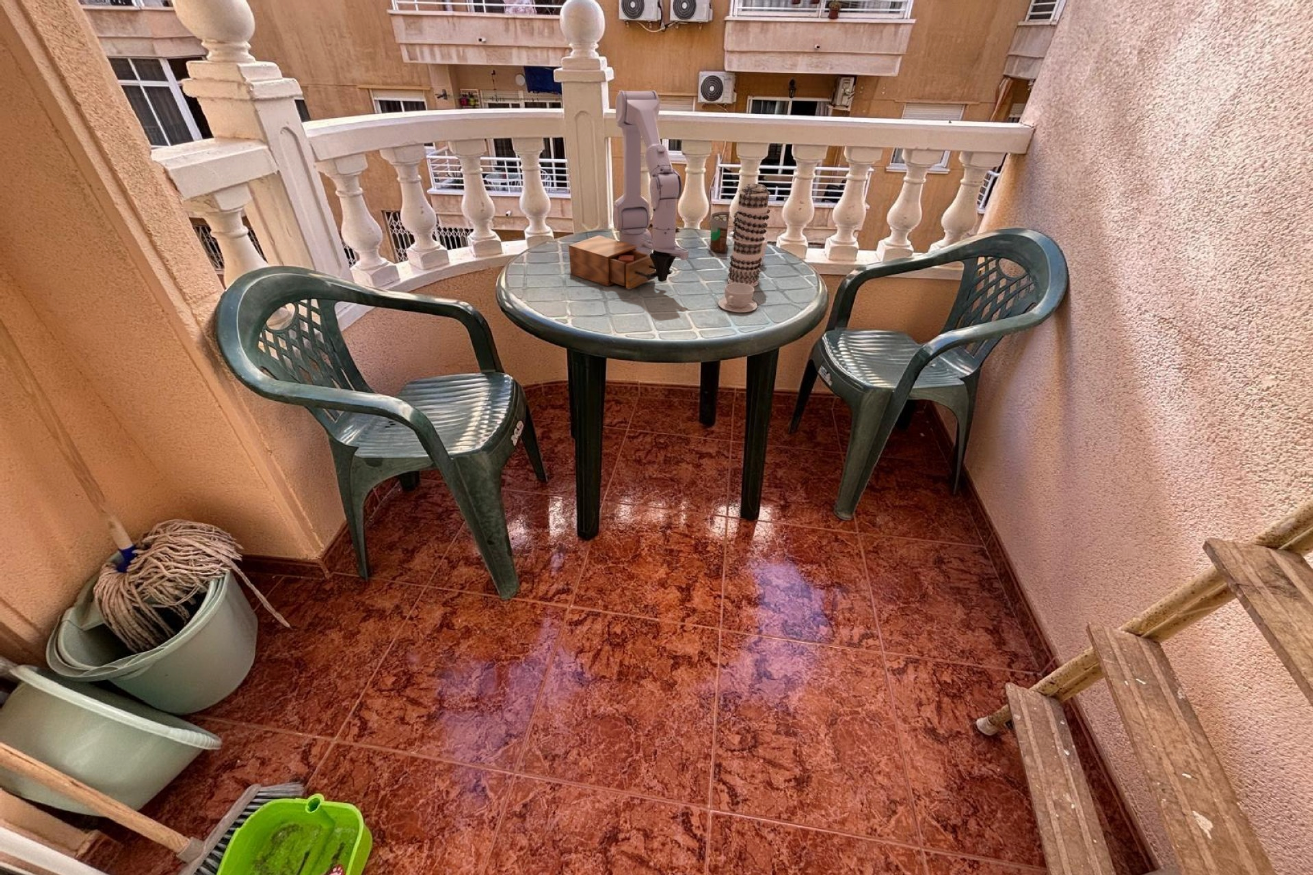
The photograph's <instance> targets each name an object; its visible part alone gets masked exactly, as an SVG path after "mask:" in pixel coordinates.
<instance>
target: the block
mask: <svg viewBox="0 0 1313 875" xmlns="http://www.w3.org/2000/svg"><path fill="white" fill-rule="evenodd" d="M618 261H622V262H625V263H626V264H629V263H631V262H634V255H619V258H618Z"/></svg>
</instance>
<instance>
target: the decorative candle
mask: <svg viewBox="0 0 1313 875" xmlns="http://www.w3.org/2000/svg"><path fill="white" fill-rule="evenodd" d="M738 193H739V195H738V202H737V205H736V206H737V207H736V210H737V211H736V212H734V215H733V218H734V219H733V222H732V224H733V229H732V232H733V233H732V236H731V237H732V240H733V241H734V242H733V248H732V249H731V255H730V257H729V258H730V261H729V264H730V266H729V268H728V272H729V273H728V275H727V277H728V279H727V282H728V284H730V283H744V284H748V285H751V286H752V287H753V288H755V287H756V286H758V284H759V278H760V276H759V275H760V273H761V270H760V268H761V266H762V265H761V264H760V262H761V260H762V258H761V252H762V251H761V248H762V243H763V242H764V239H766V238H765V237H764V234H766V233H767V229H766V228H768V223H766V221H767V220H769V219H770V215H769V214H770V212H771V209H769V198H770V195H771V192H770V191H768V187H767V186H766V185H764V184H761V183H760V184H759V183H747V184H744V185H743V186H742V188H741V189H739V190H738Z"/></svg>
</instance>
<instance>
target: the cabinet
mask: <svg viewBox="0 0 1313 875" xmlns="http://www.w3.org/2000/svg"><path fill="white" fill-rule="evenodd" d="M636 248H637V246H635V245H631V244H628V243H624V242H621V241H620V240H616V239H614V238H609V237H607V236H606V237H605V236H603V235H595V236H592V237H590V238H586V239H583V240H581V241H577V242H573V243H571V244H568V256H569V257H568V258H569V271H570V274H571V275H574V276H576V277H580V278H583V279H585V280H588V281H590V282H591V281H592V282H595V283H598V284H600V285H603V286H606V287H609V286H611V285H614V284H615V283H613V282H610V281H609V259H608V258H611V257H614V256H617V255H619V254H622V253H625V252H627V251H630V250H635V251H636Z"/></svg>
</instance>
